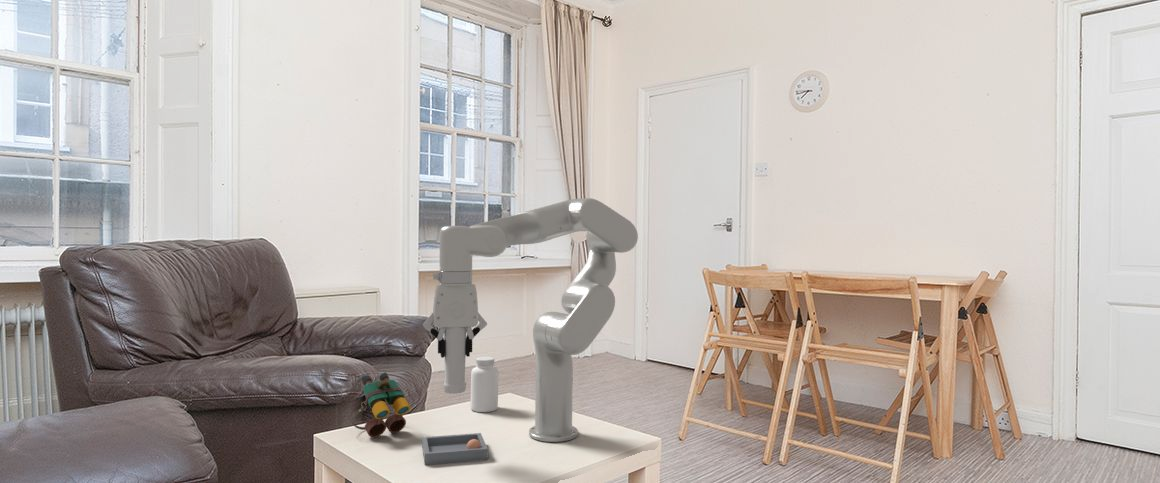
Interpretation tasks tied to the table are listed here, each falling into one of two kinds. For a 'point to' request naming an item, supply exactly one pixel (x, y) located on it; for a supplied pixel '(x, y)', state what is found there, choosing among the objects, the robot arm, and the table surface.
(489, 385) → the pill bottle
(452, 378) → the bottle
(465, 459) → the tray
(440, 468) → the table surface
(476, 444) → the ball
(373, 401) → the binoculars
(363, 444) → the table surface
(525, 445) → the table surface
